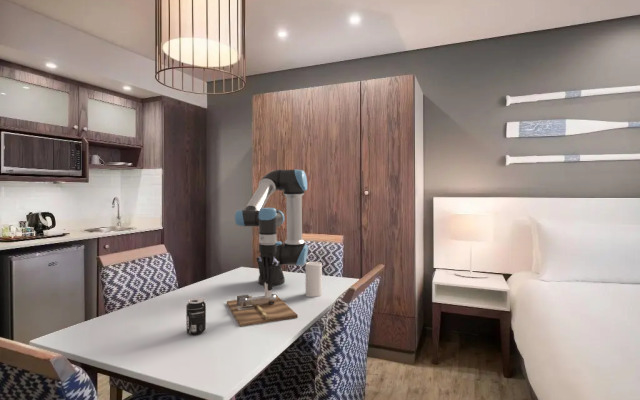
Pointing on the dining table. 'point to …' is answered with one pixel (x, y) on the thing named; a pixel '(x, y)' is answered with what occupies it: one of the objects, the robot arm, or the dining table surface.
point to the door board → (260, 311)
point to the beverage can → (196, 316)
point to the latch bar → (256, 300)
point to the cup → (313, 279)
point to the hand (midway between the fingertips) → (268, 297)
